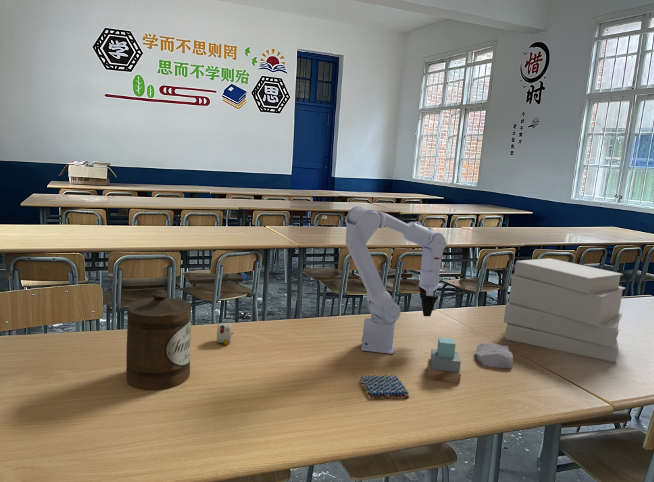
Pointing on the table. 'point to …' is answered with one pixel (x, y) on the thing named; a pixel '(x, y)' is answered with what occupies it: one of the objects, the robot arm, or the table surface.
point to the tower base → (442, 374)
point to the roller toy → (224, 333)
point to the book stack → (565, 308)
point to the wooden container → (158, 342)
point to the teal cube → (446, 347)
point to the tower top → (445, 362)
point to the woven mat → (384, 387)
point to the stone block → (494, 355)
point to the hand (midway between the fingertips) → (426, 312)
